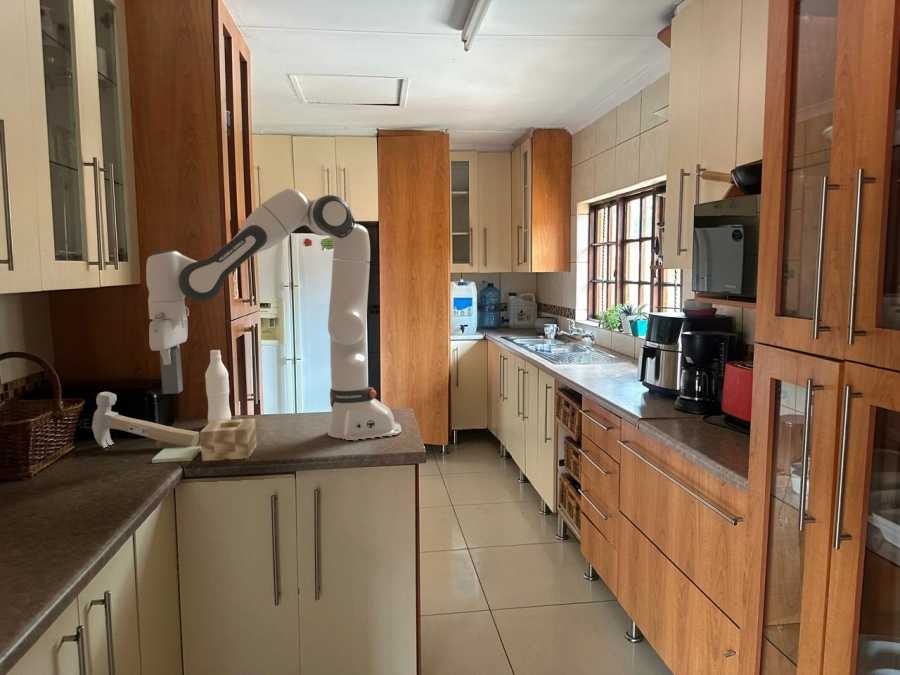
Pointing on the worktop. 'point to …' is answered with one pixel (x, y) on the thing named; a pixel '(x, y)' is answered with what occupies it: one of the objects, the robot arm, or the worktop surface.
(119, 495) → the worktop surface
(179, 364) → the peg
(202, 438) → the socket block
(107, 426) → the hammer
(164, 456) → the pad
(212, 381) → the water bottle
